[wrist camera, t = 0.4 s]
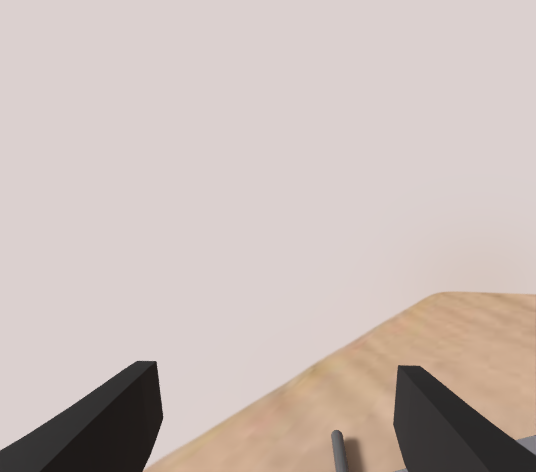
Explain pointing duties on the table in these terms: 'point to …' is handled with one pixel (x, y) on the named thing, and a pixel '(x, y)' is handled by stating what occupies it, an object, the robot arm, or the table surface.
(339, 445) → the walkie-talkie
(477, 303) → the table surface
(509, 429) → the table surface
